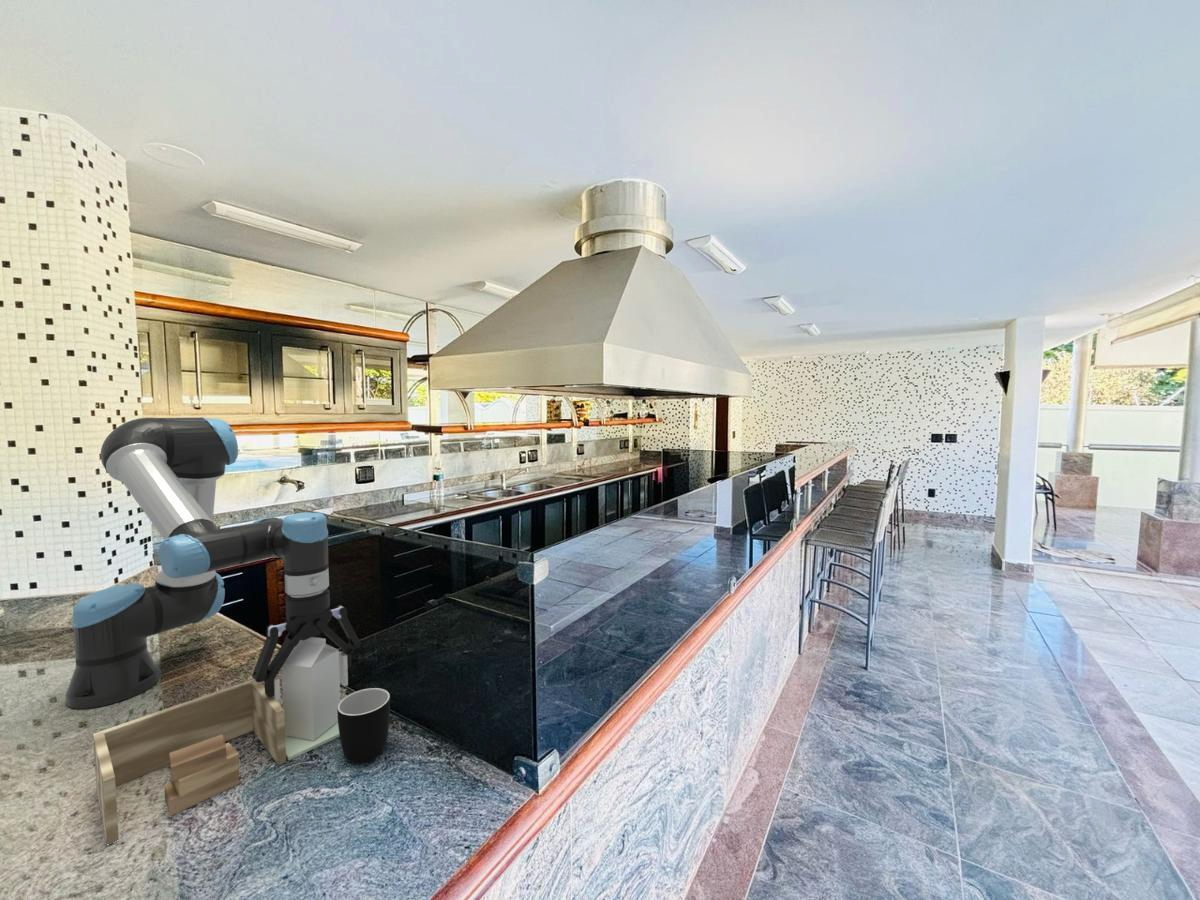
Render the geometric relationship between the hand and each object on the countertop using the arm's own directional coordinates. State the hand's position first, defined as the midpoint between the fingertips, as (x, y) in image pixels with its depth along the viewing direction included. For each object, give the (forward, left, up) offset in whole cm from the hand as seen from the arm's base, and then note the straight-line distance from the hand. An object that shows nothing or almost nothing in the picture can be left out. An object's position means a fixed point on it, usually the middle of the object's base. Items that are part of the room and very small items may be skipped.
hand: (311, 696), depth 97 cm
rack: (-2, -18, -7) cm, 20 cm away
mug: (+13, +4, -7) cm, 15 cm away
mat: (0, 0, -7) cm, 7 cm away
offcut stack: (+4, -18, -7) cm, 20 cm away
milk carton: (0, 0, -7) cm, 7 cm away
